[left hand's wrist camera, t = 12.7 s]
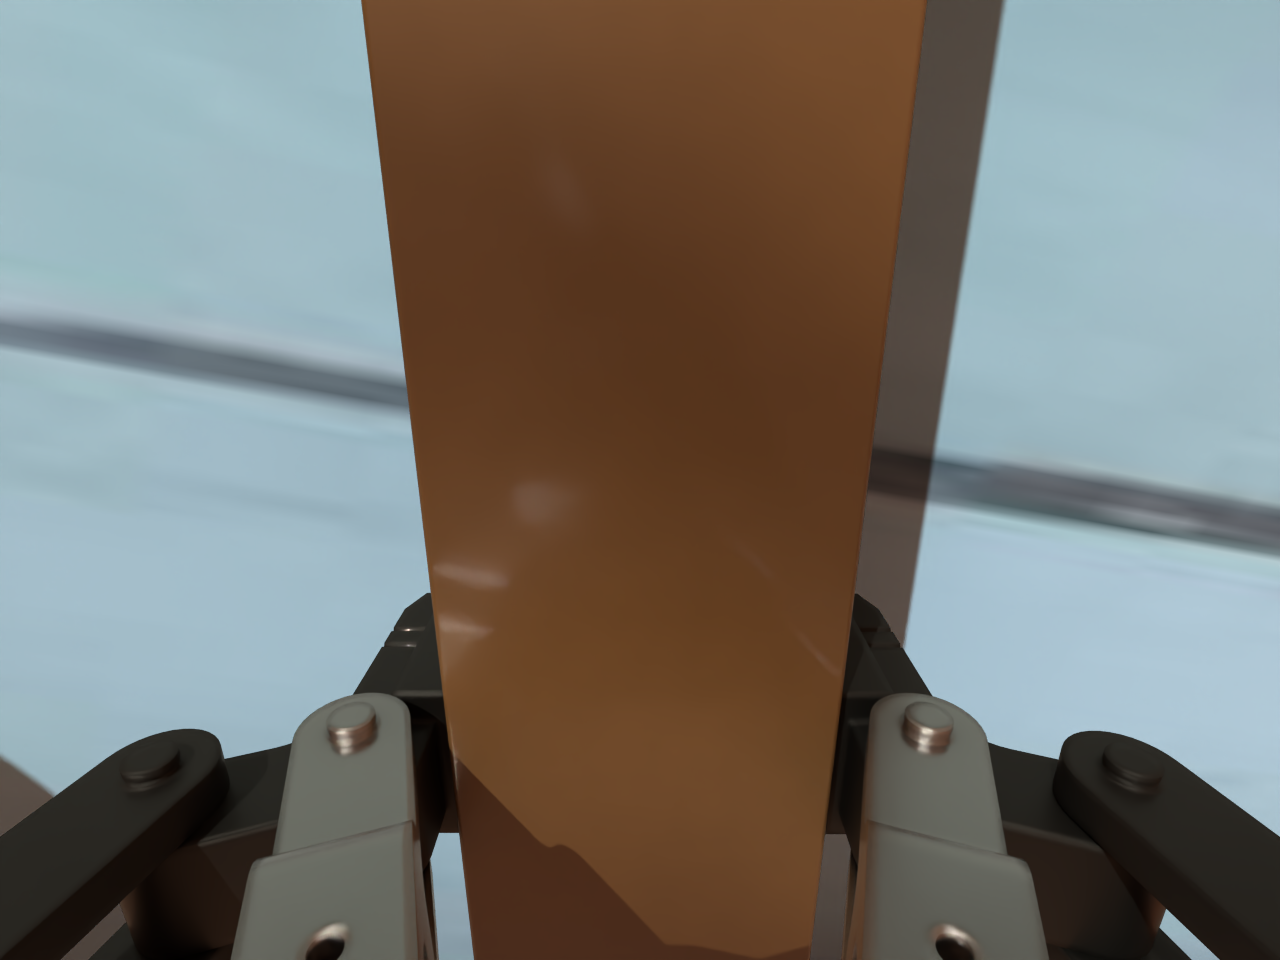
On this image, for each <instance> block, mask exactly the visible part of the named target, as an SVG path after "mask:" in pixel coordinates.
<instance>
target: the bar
mask: <svg viewBox="0 0 1280 960" xmlns="http://www.w3.org/2000/svg"><path fill="white" fill-rule="evenodd" d="M361 3H362V12H363V20H364V28H365V37H366V45H367V54H368V62H369V71H370V79H371V88H372V96H373V105H374V113H375V122H376V130H377V139H378V147H379V156H380V164H381V173H382V181H383V190H384V198H385V207H386V215H387V224H388V232H389V241H390V249H391V258H392V266H393V275H394V283H395V292H396V300H397V309H398V317H399V326H400V334H401V343H402V351H403V360H404V368H405V377H406V385H407V394H408V402H409V411H410V419H411V428H412V436H413V445H414V453H415V462H416V470H417V479H418V487H419V496H420V504H421V513H422V521H423V530H424V538H425V547H426V555H427V564H428V572H429V581H430V589H431V598H432V606H433V615H434V623H435V632H436V640H437V649H438V657H439V666H440V674H441V683H442V691H443V700H444V708H445V717H446V725H447V734H448V742H449V751H450V759H451V768H452V776H453V785H454V793H455V802H456V810H457V819H458V827H459V836H460V844H461V853H462V861H463V870H464V878H465V887H466V895H467V904H468V912H469V920H470V929H471V937H472V946H473V954H474V960H810V953H811V945H812V937H813V929H814V921H815V912H816V904H817V896H818V888H819V880H820V872H821V864H822V855H823V847H824V839H825V831H826V823H827V815H828V807H829V798H830V790H831V782H832V774H833V766H834V758H835V750H836V741H837V733H838V725H839V717H840V709H841V701H842V692H843V684H844V676H845V668H846V660H847V652H848V644H849V635H850V627H851V619H852V611H853V603H854V595H855V587H856V578H857V570H858V562H859V554H860V546H861V538H862V530H863V521H864V513H865V505H866V497H867V489H868V481H869V472H870V464H871V456H872V448H873V440H874V432H875V424H876V415H877V407H878V399H879V391H880V383H881V375H882V367H883V358H884V350H885V342H886V334H887V326H888V318H889V310H890V301H891V293H892V285H893V277H894V269H895V261H896V253H897V244H898V236H899V228H900V220H901V212H902V204H903V195H904V187H905V179H906V171H907V163H908V155H909V147H910V138H911V130H912V122H913V114H914V106H915V98H916V90H917V81H918V73H919V65H920V57H921V49H922V41H923V33H924V24H925V16H926V8H927V0H361Z"/></svg>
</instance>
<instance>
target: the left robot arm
mask: <svg viewBox="0 0 1280 960" xmlns="http://www.w3.org/2000/svg"><path fill="white" fill-rule="evenodd" d="M439 833H459V827H458V819H457V810H456V802H455V793H454V785H453V776H452V768H451V759H450V751H449V742H448V734H447V725H446V717H445V708H444V700H443V691H442V683H441V674H440V666H439V657H438V649H437V640H436V632H435V623H434V615H433V606H432V598H431V593H426V594H425V595H424V596H422V597H421V598H420V599H418V600H417V601H415V602H414V603H413V604H411V605H410V606H409V607H407V608H406V609H405V610H404V612H403V613H402V615H401V617H400V618H399V620H398V621H397V623H396V625H395V626H394V631H391V633H390V635H389V636H388V638H387V640H386V641H385V643H384V647H382V648H381V649H380V651H379V653H378V654H377V656H376V658H375V659H374V661H373V662H372V664H371V666H370V667H369V669H368V671H367V672H366V674H365V676H364V677H363V679H362V681H361V682H360V684H359V685H358V687H357V689H356V690H355V692H354V694H353V695H351V696H347V697H343V698H340V699H338V700H335V701H333V702H330V703H328V704H326V705H324V706H323V707H321V708H319V709H317V710H316V711H315V712H313V713H312V714H310V715H309V716H308V717H307V718H306V719H305V720H304V721H303V722H302V723H301V724H300V726H299V727H298V729H297V730H296V732H295V734H294V737H293V741H292V743H291V744H288V745H285V746H281V747H277V748H273V749H268V750H264V751H259V752H255V753H250V754H245V755H241V756H236V757H232V758H227V759H224V756H223V752H222V748H221V744H220V742H219V740H218V739H217V737H216V736H215V735H213V734H211V733H210V732H207V731H204V730H198V729H179V730H171V731H167V732H162V733H159V734H155V735H152V736H149V737H146V738H144V739H141V740H138V741H136V742H134V743H132V744H130V745H128V746H126V747H124V748H122V749H120V750H119V751H117V752H115V753H114V754H112V755H111V756H109V757H108V758H106V759H105V760H104V761H102V762H101V763H100V764H98V765H97V766H96V767H94V768H93V769H92V770H90V771H89V772H87V773H86V774H85V775H83V776H82V777H81V778H79V779H78V780H77V781H75V782H74V783H73V784H71V785H70V786H68V787H67V788H66V789H64V790H63V791H62V792H60V793H59V794H58V795H56V796H55V797H54V798H52V799H51V800H50V801H48V802H47V803H45V804H44V805H43V806H41V807H40V808H39V809H37V810H36V811H35V812H33V813H32V814H31V815H29V816H28V817H26V818H25V819H24V820H22V821H21V822H20V823H18V824H17V825H16V826H14V827H13V828H12V829H10V830H9V831H7V832H6V833H5V834H3V835H2V836H1V837H0V960H60V959H61V958H62V957H64V956H65V955H66V954H67V953H68V952H69V951H70V950H71V949H72V948H73V947H74V946H75V945H76V944H77V943H78V942H79V941H80V940H81V939H82V938H83V937H84V936H86V935H87V934H88V933H89V932H90V931H91V930H92V929H93V928H94V927H95V926H96V925H97V924H98V923H99V922H100V921H101V920H102V919H103V918H104V917H105V916H106V915H108V914H109V913H110V912H111V911H112V910H113V909H114V908H115V907H116V906H117V905H118V904H119V903H120V906H121V909H122V912H123V914H124V917H125V920H126V923H125V924H124V925H123V926H122V927H121V928H120V929H119V930H118V931H117V932H116V933H115V934H114V935H113V936H112V937H111V938H110V939H109V940H108V941H107V942H106V943H105V944H104V945H103V946H102V947H101V948H100V949H99V950H98V951H97V952H96V953H95V954H94V955H93V956H92V957H91V958H90V959H89V960H439V954H438V941H437V928H436V915H435V901H434V888H433V875H432V867H431V860H430V858H431V855H432V852H433V849H434V846H435V843H436V840H437V837H438V834H439ZM825 834H846V835H847V838H848V841H849V844H850V847H851V853H850V860H849V867H848V875H847V888H846V901H845V915H844V928H843V941H842V954H841V960H1191V959H1190V958H1189V957H1188V956H1187V955H1186V954H1185V953H1184V952H1183V951H1182V950H1181V949H1180V948H1179V947H1178V946H1177V945H1176V944H1175V943H1174V942H1173V941H1172V940H1171V939H1170V938H1169V937H1168V936H1167V935H1166V934H1165V933H1164V932H1163V931H1162V930H1161V929H1160V928H1159V927H1160V924H1161V921H1162V919H1163V916H1164V913H1165V911H1166V909H1167V910H1168V911H1169V912H1170V913H1171V914H1173V915H1174V916H1175V917H1176V918H1177V919H1178V920H1179V921H1180V922H1181V923H1182V924H1183V925H1184V926H1185V927H1186V928H1187V929H1188V930H1189V931H1190V932H1191V933H1192V934H1193V935H1195V936H1196V937H1197V938H1198V939H1199V940H1200V941H1201V942H1202V943H1203V944H1204V945H1205V946H1206V947H1207V948H1208V949H1209V950H1210V951H1211V952H1212V953H1213V954H1214V955H1215V956H1217V957H1218V958H1219V959H1220V960H1280V837H1279V836H1278V835H1277V834H1275V833H1274V832H1273V831H1271V830H1270V829H1268V828H1267V827H1266V826H1264V825H1263V824H1262V823H1260V822H1259V821H1258V820H1256V819H1255V818H1254V817H1252V816H1251V815H1250V814H1248V813H1247V812H1245V811H1244V810H1243V809H1241V808H1240V807H1239V806H1237V805H1236V804H1235V803H1233V802H1232V801H1231V800H1229V799H1228V798H1226V797H1225V796H1224V795H1222V794H1221V793H1220V792H1218V791H1217V790H1216V789H1214V788H1213V787H1212V786H1210V785H1209V784H1207V783H1206V782H1205V781H1203V780H1202V779H1201V778H1199V777H1198V776H1197V775H1195V774H1194V773H1193V772H1191V771H1190V770H1189V769H1187V768H1186V767H1184V766H1183V765H1182V764H1180V763H1179V762H1178V761H1176V760H1175V759H1173V758H1172V757H1170V756H1169V755H1167V754H1166V753H1164V752H1162V751H1160V750H1159V749H1157V748H1155V747H1153V746H1151V745H1149V744H1146V743H1144V742H1142V741H1139V740H1136V739H1134V738H1131V737H1127V736H1124V735H1121V734H1116V733H1111V732H1104V731H1085V732H1079V733H1076V734H1073V735H1071V736H1070V737H1068V738H1067V739H1066V740H1065V741H1064V743H1063V745H1062V748H1061V752H1060V756H1059V760H1058V759H1053V758H1049V757H1044V756H1039V755H1035V754H1030V753H1026V752H1021V751H1017V750H1012V749H1008V748H1004V747H1000V746H997V745H994V744H992V743H989V742H988V741H987V737H986V734H985V732H984V730H983V729H982V727H981V726H980V724H979V723H978V722H977V721H976V720H975V719H974V718H973V717H972V716H971V715H970V714H968V713H967V712H965V711H964V710H963V709H961V708H959V707H957V706H956V705H954V704H952V703H950V702H947V701H945V700H942V699H940V698H937V697H933V696H932V695H931V693H930V691H929V690H928V688H927V687H926V685H925V683H924V682H923V680H922V678H921V677H920V675H919V674H918V672H917V670H916V669H915V667H914V666H913V664H912V662H911V661H910V659H909V657H908V656H907V654H906V653H905V651H904V649H903V648H900V643H899V641H898V640H897V638H896V636H895V635H894V633H893V632H891V631H890V627H889V625H888V624H887V622H886V620H885V619H884V617H883V615H882V614H881V612H880V611H879V609H877V608H876V607H875V606H873V605H872V604H870V603H869V602H868V601H866V600H865V599H864V598H862V597H861V596H859V595H858V594H855V595H854V603H853V611H852V619H851V627H850V635H849V644H848V652H847V660H846V668H845V676H844V684H843V692H842V701H841V709H840V717H839V725H838V733H837V741H836V750H835V758H834V766H833V774H832V782H831V790H830V798H829V807H828V815H827V823H826V831H825Z"/></svg>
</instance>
